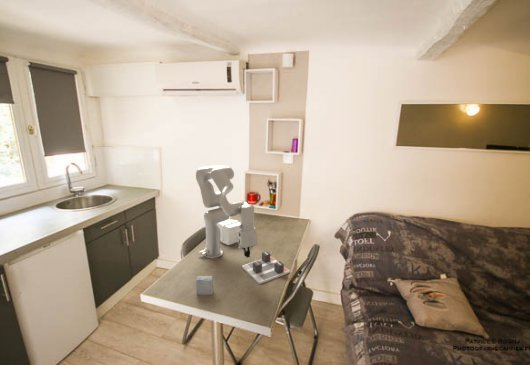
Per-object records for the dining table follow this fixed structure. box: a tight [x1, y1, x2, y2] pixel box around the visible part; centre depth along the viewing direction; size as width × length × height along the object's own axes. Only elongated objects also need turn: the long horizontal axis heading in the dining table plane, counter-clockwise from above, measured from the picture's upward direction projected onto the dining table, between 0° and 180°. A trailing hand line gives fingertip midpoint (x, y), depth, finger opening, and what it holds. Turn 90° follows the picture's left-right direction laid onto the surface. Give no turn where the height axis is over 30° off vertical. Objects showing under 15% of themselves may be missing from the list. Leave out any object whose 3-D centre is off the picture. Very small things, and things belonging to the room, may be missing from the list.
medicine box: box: [195, 275, 214, 296], centre depth 131 cm, size 8×4×9 cm, turn 92°
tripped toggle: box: [252, 260, 262, 273], centre depth 149 cm, size 4×4×5 cm
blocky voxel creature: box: [217, 218, 241, 246], centre depth 194 cm, size 15×25×28 cm
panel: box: [241, 250, 291, 285], centre depth 153 cm, size 22×20×6 cm
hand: (247, 256), depth 143 cm, fingers closed
